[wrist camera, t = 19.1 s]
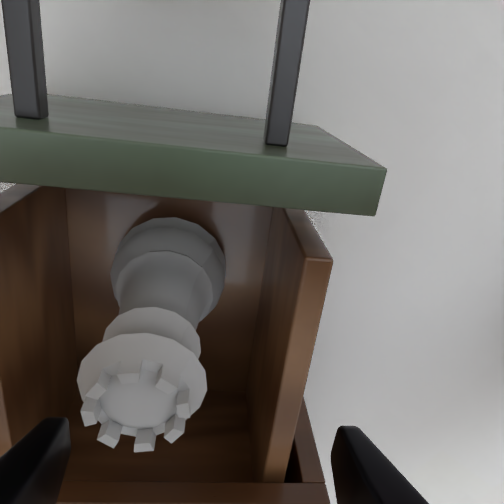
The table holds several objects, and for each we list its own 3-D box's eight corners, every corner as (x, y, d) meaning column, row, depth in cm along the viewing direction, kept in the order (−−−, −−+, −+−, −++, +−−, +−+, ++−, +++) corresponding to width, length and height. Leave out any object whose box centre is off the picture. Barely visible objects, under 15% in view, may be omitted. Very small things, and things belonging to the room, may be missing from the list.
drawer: (5, -113, 12) (-243, -319, 6) (350, -53, 14) (475, -166, 7) (55, 380, 20) (-24, 533, 14) (270, 388, 21) (294, 532, 15)
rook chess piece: (179, 190, 15) (143, 299, 8) (247, 272, 17) (267, 423, 10) (93, 254, 16) (-8, 405, 9) (166, 326, 18) (130, 502, 11)
